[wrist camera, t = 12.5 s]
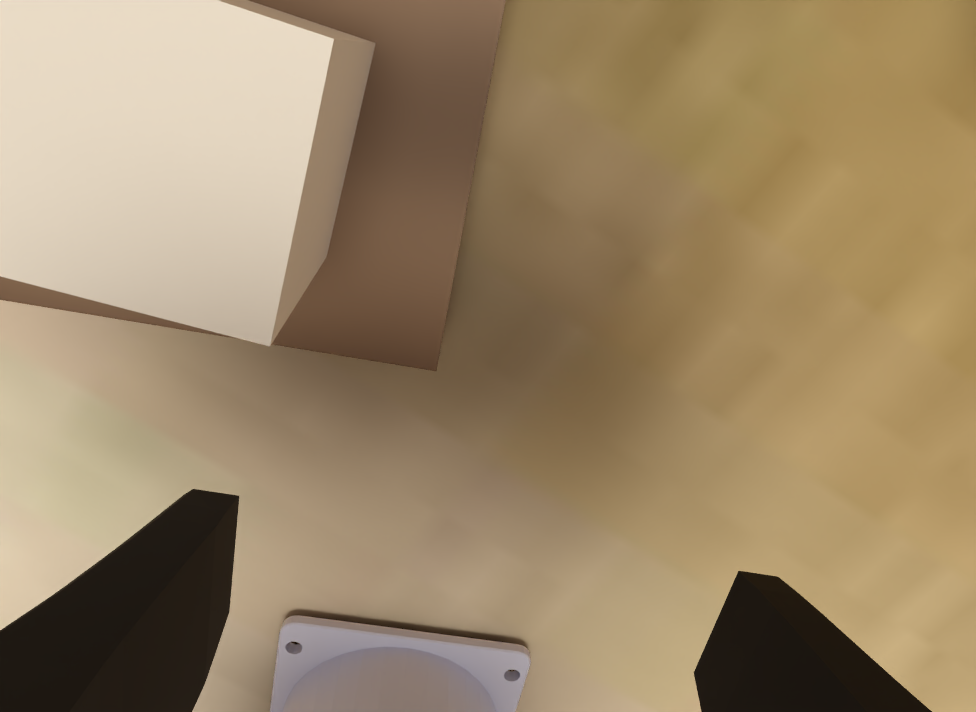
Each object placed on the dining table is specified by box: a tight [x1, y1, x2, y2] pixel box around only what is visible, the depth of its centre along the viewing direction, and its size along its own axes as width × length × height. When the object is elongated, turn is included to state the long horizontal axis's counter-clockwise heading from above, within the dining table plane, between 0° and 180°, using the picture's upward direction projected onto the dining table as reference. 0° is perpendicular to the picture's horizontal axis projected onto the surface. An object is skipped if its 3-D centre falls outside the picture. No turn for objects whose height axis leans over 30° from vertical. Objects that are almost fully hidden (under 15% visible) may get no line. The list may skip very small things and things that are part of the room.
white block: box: [0, 0, 376, 346], centre depth 12 cm, size 4×4×5 cm
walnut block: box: [0, 0, 506, 371], centre depth 15 cm, size 10×10×3 cm
